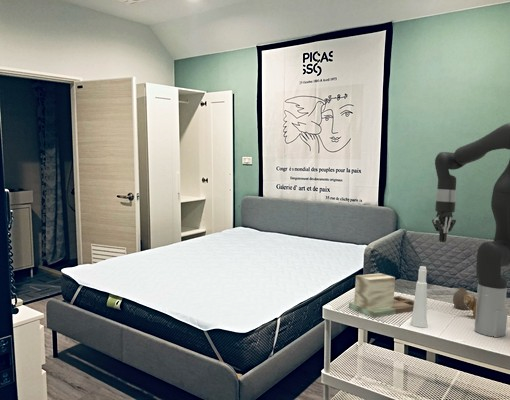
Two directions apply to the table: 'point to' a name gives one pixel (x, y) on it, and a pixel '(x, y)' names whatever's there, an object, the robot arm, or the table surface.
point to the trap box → (387, 308)
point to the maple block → (374, 291)
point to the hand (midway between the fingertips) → (442, 241)
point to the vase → (460, 298)
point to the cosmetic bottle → (420, 300)
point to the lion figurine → (471, 303)
